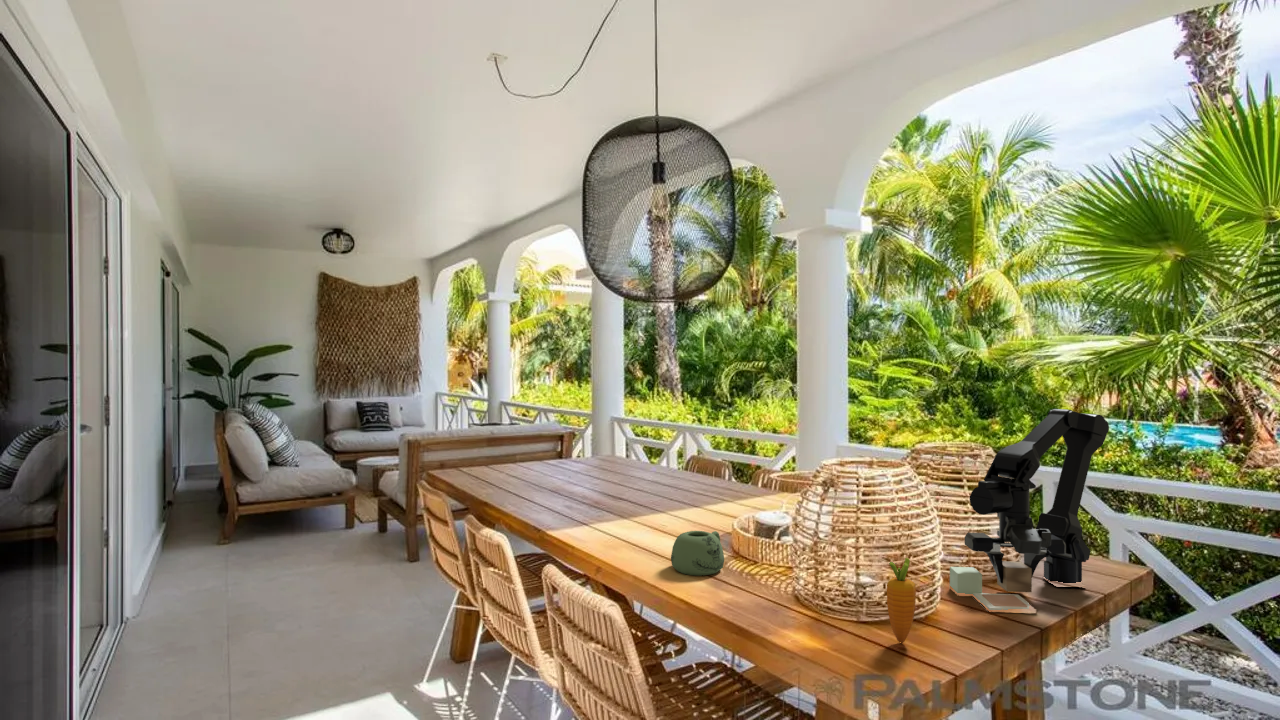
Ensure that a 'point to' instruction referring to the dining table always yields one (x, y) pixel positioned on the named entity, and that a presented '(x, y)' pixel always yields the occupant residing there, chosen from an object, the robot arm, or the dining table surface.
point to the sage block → (965, 580)
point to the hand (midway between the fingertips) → (1014, 583)
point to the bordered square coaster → (1002, 601)
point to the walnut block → (1016, 577)
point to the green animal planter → (697, 553)
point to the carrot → (901, 601)
